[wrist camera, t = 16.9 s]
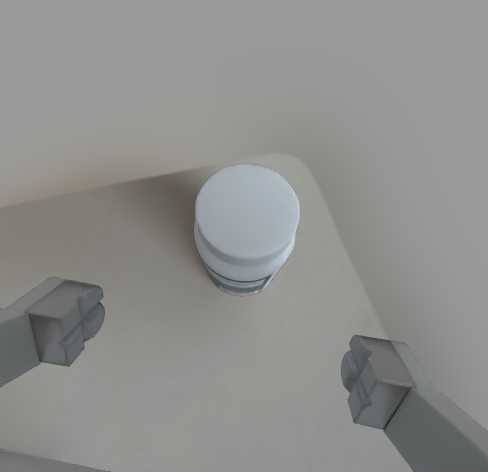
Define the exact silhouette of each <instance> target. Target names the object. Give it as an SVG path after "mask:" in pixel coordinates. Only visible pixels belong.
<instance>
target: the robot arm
mask: <svg viewBox="0 0 488 472" xmlns="http://www.w3.org/2000/svg"><path fill="white" fill-rule="evenodd" d="M102 298H103V290H102V288H101V287H99V286H96V285H92V284H87V283H82V282H78V281H73V280H67V279H62V278H58V277H52V278H48V279H47V280H45V281H44V282H42V283H41V284H40V285H38V286H37V287H35V288H34V289H32V290H31V291H30V292H28V293H27V294H25V295H24V296H22V297H21V298H20V299H18V300H17V301H15V302H14V303H12V304H11V305H10V306H8V307H7V308H5V309H3V308H0V387H1V386H3V385H5V384H7V383H8V382H10V381H12V380H13V379H15V378H17V377H19V376H20V375H22V374H24V373H25V372H27V371H29V370H30V369H32V368H34V367H36V366H37V365H39V364H40V362H44V363H50V364H56V365H62V366H68V367H70V365H71V364H72V363H73V362H74V361H75V359H76V358H77V357H78V356H79V355H80V353H81V352H82V351H83V350H84V349H85V345H84V342H85V341H87V340H89V339H91V338H93V337H94V336H95V335H96V334H97V332H98V331H99V330H100V328H101V326H102V323H103V321H104V316H105V310H104V307H103V305H102V304H101V303H100V302H99V301H100V300H101V299H102ZM349 344H350V347H351V350H350V351H348V352H347V353H345V354H344V357H343V360H342V364H341V377H342V381H343V385H344V387H345V388H346V389H347V390H348V391H349V392H350V395H349V398H348V404H349V407H350V411H351V414H352V418H353V422H354V423H356V424H361V425H365V426H369V427H374V428H378V429H383V430H384V433H385V434H386V435H387V436H388V438H389V439H390V440H391V442H392V443H393V444H394V446H395V447H396V448H397V450H398V451H399V452H400V454H401V455H402V456H403V458H404V459H405V460H406V462H407V463H408V464H409V466H410V467H411V468H412V470H413V471H414V472H488V431H487V430H486V429H485V428H484V427H482V426H481V425H480V424H479V423H478V422H476V421H475V420H474V419H473V418H472V417H470V416H469V415H468V414H467V413H466V412H464V411H463V410H462V409H461V408H459V407H458V406H457V405H456V404H454V403H453V402H452V401H451V400H450V399H449V398H447V397H446V396H445V395H444V394H442V393H438V392H436V390H435V388H434V387H433V385H432V384H431V382H430V380H429V379H428V377H427V375H426V374H425V372H424V370H423V369H422V367H421V366H420V364H419V362H418V361H417V359H416V357H415V356H414V354H413V352H412V351H411V349H410V348H409V346H408V345H406V344H405V343H402V342H396V341H390V340H383V339H377V338H372V337H366V336H361V335H354V336H353V337H352V339H351V341H350V343H349ZM0 472H110V471H105V470H100V469H95V468H90V467H86V466H81V465H76V464H71V463H66V462H61V461H57V460H52V459H47V458H42V457H37V456H32V455H28V454H23V453H18V452H13V451H8V450H3V449H0Z"/></svg>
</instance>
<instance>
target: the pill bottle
mask: <svg viewBox="0 0 488 472" xmlns="http://www.w3.org/2000/svg"><path fill="white" fill-rule="evenodd" d="M195 218H196V220H195V225H194V237H195V243H196V246H197V250H198V252H199V255H200V257H201V259H202V261H203V263H204V265H205V268H206V270H207V272H208V274H209V276H210V278H211V280H212V281H213V282H214V284H215V285H216V286H217V287H218V288H219V289H221V290H222V291H224V292H226V293H228V294H230V295H234V296H242V297H243V296H250V295H254V294H256V293H258V292H260V291H262V290H263V289H264V288H266V287H267V286H268V285H269V284H270V282H271V281H272V280H273V278H274V277H275V276H276V274H277V273H278V271H279V270H280V269H281V268H282V266H283V265H284V264H285V262H286V261H287V260H288V258H289V256H290V254H291V252H292V249H293V246H294V243H295V234H296V229H297V226H298V223H299V218H300V208H299V202H298V199H297V196H296V194H295V192H294V190H293V188H292V187H291V185H290V184H289V183H288V182H287V181H286V180H285V179H284V178H283V177H282V176H281V175H279V174H278V173H276V172H275V171H273V170H271V169H268V168H266V167H263V166H259V165H254V164H238V165H233V166H229V167H226V168H224V169H222V170H220V171H218V172H216V173H215V174H213V175H212V176H211V177H210V178H209V179H208V180H207V181H206V182H205V183H204V184H203V186H202V187H201V189H200V191H199V193H198V196H197V199H196V203H195Z"/></svg>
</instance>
